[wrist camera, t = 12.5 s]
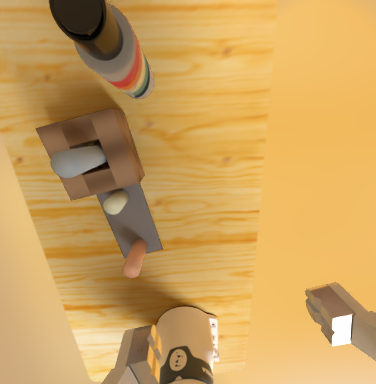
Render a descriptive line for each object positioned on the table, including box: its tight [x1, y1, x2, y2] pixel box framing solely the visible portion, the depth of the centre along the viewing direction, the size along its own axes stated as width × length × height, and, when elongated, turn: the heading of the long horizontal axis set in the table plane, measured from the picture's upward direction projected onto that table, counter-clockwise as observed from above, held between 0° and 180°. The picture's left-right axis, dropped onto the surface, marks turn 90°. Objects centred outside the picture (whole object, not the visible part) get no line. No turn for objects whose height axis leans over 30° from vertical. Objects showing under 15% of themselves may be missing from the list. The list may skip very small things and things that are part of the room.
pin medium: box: [122, 239, 147, 278], centre depth 37 cm, size 3×3×8 cm
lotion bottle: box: [49, 0, 154, 99], centre depth 22 cm, size 6×6×20 cm
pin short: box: [103, 189, 129, 215], centre depth 35 cm, size 3×3×5 cm
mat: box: [97, 182, 163, 258], centre depth 39 cm, size 17×9×1 cm, turn 14°
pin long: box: [51, 144, 108, 178], centre depth 28 cm, size 3×3×14 cm
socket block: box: [36, 108, 145, 201], centre depth 32 cm, size 12×12×6 cm
